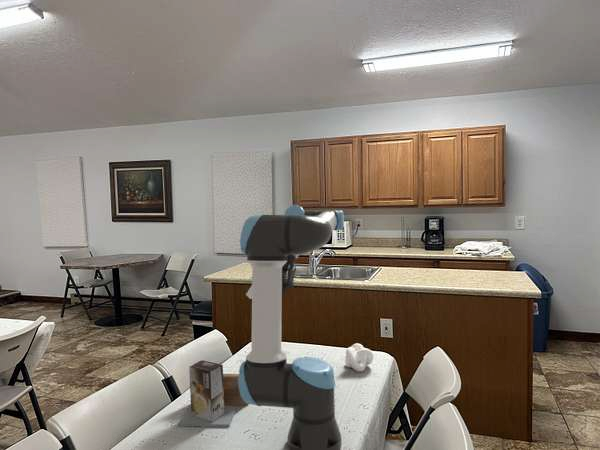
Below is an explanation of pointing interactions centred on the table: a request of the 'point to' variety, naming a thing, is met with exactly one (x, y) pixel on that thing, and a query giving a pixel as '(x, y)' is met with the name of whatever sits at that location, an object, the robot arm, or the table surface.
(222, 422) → the mat
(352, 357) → the white lobed ornament
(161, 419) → the table surface
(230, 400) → the walnut screen
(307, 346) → the table surface
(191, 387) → the coffee box
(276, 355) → the robot arm
